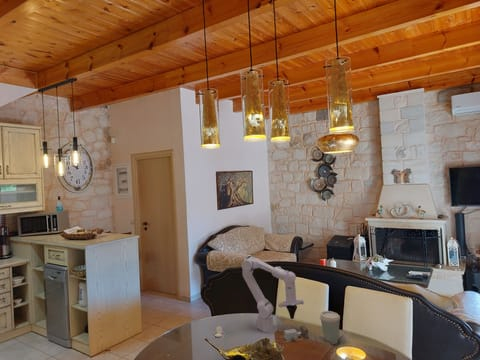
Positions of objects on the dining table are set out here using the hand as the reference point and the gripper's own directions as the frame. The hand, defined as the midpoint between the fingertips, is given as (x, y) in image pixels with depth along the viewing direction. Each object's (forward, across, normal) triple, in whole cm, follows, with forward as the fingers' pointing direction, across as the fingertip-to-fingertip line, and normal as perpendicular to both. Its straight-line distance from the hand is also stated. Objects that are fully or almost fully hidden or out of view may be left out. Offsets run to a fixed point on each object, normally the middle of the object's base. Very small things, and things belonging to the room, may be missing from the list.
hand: (292, 318), depth 192 cm
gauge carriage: (+8, -2, -8) cm, 12 cm away
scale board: (+9, -4, -7) cm, 12 cm away
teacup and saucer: (+10, -42, +16) cm, 46 cm away
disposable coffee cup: (+10, +16, -15) cm, 24 cm away
